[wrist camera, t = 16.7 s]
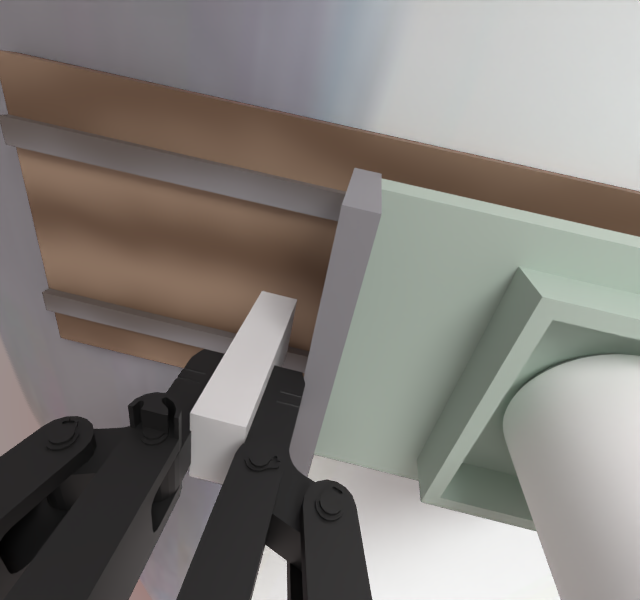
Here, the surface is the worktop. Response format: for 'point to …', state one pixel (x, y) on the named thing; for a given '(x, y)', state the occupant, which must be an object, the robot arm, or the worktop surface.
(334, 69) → the worktop surface
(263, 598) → the worktop surface
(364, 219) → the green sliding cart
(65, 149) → the track
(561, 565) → the can
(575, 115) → the worktop surface
